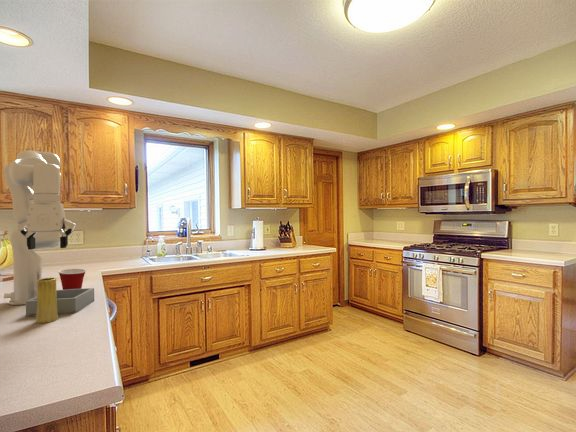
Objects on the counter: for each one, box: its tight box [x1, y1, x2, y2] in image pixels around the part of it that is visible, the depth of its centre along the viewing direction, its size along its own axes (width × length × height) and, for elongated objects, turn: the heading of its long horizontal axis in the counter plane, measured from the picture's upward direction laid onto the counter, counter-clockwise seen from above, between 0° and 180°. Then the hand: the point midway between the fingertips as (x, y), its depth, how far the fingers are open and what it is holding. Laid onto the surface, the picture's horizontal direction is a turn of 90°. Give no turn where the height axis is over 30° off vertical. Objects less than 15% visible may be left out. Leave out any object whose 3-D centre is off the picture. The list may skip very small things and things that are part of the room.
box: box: [25, 287, 95, 317], centre depth 124 cm, size 16×18×6 cm
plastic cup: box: [57, 268, 87, 290], centre depth 143 cm, size 11×11×12 cm
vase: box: [35, 277, 59, 324], centre depth 109 cm, size 6×6×14 cm
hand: (47, 248), depth 109 cm, fingers open, 9 cm apart
